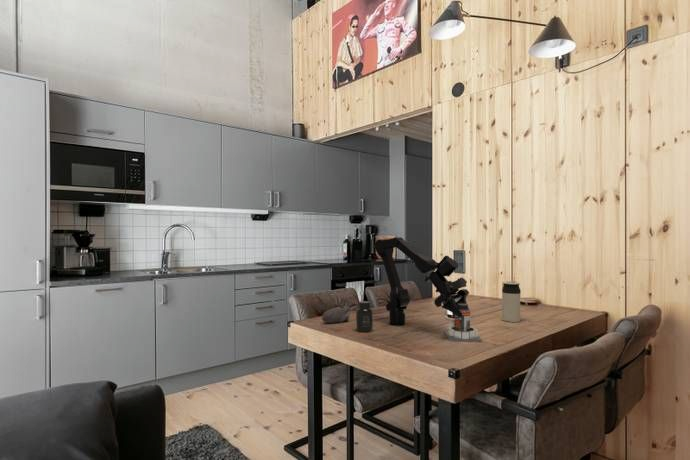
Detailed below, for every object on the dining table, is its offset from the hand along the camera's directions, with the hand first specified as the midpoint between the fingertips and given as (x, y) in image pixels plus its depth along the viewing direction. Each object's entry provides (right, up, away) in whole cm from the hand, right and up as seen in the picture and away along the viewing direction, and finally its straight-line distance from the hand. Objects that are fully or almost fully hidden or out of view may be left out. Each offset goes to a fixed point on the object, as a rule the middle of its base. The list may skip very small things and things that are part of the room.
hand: (465, 314), depth 162 cm
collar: (-1, -9, +1) cm, 9 cm away
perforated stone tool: (-51, -9, +26) cm, 58 cm away
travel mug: (+31, -9, +31) cm, 45 cm away
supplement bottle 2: (-1, -7, +1) cm, 7 cm away
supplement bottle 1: (-39, -9, +11) cm, 42 cm away
